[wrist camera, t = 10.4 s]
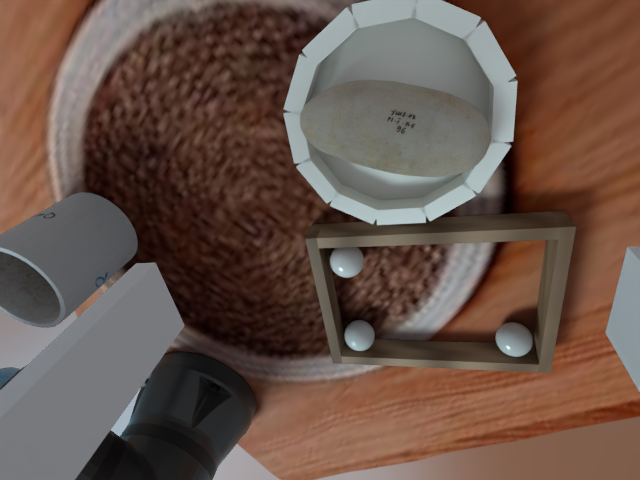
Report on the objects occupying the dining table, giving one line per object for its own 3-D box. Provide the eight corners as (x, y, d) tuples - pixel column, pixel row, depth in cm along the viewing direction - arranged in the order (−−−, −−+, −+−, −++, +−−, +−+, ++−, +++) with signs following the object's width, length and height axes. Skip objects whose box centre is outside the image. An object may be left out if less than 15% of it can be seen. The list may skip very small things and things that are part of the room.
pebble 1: (335, 265, 36) (330, 284, 34) (330, 238, 35) (324, 256, 32) (367, 264, 35) (363, 284, 33) (363, 236, 34) (359, 255, 31)
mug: (108, 184, 37) (19, 238, 29) (152, 258, 41) (84, 323, 33) (21, 206, 41) (-79, 259, 33) (68, 271, 45) (-11, 333, 37)
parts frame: (337, 344, 42) (333, 363, 40) (311, 224, 34) (305, 238, 32) (543, 351, 36) (550, 373, 34) (564, 210, 29) (576, 226, 27)
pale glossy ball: (349, 335, 41) (344, 357, 38) (344, 313, 39) (340, 334, 37) (377, 335, 40) (374, 358, 37) (374, 313, 38) (371, 335, 36)
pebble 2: (492, 338, 37) (497, 363, 34) (493, 315, 35) (499, 338, 33) (526, 339, 36) (534, 364, 34) (529, 315, 35) (538, 340, 32)
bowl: (315, 214, 34) (308, 228, 32) (276, 20, 26) (263, 22, 24) (500, 202, 30) (507, 218, 28) (515, -30, 22) (525, -33, 20)
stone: (292, 72, 25) (494, 71, 19) (335, 89, 30) (502, 92, 25) (286, 163, 26) (473, 186, 21) (328, 164, 31) (485, 182, 26)
